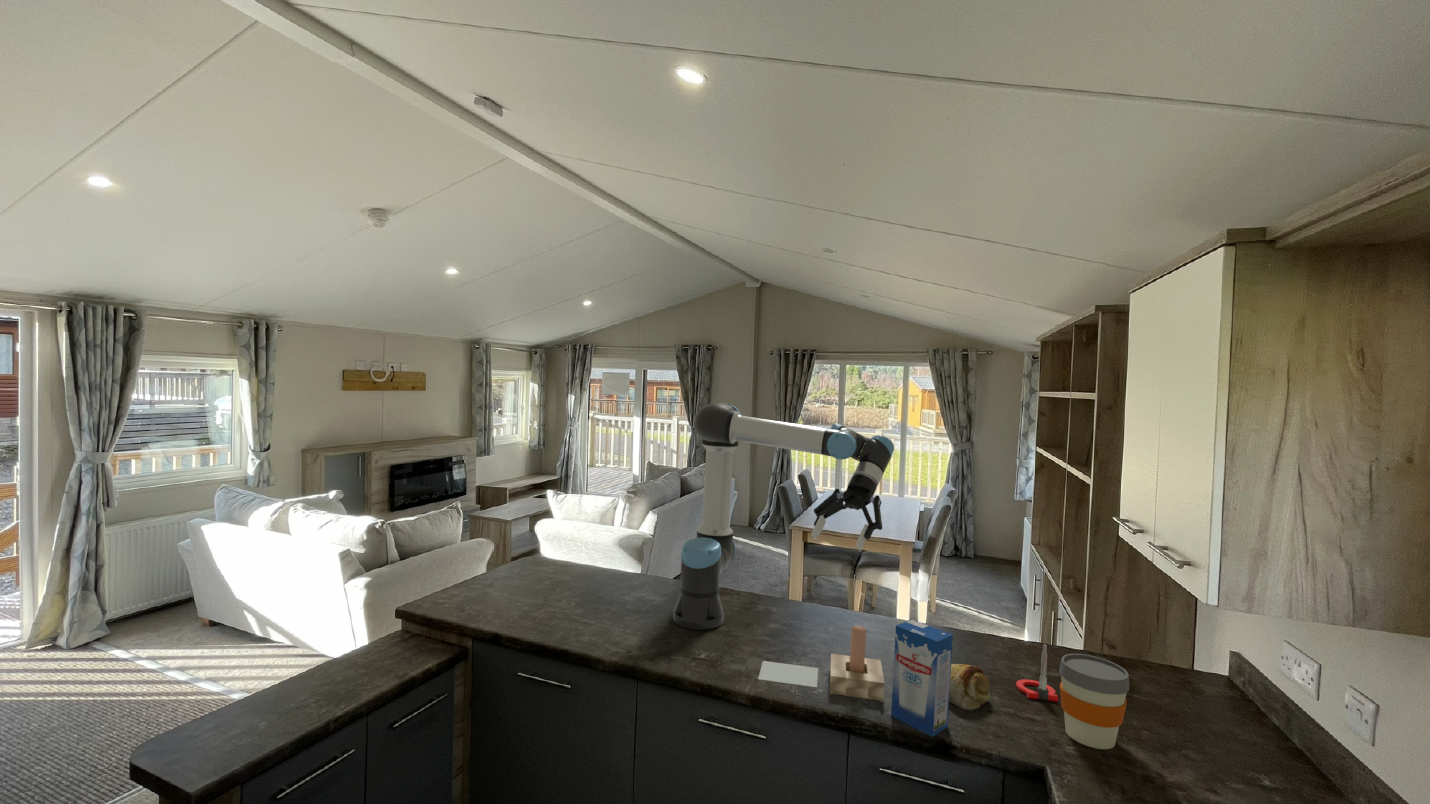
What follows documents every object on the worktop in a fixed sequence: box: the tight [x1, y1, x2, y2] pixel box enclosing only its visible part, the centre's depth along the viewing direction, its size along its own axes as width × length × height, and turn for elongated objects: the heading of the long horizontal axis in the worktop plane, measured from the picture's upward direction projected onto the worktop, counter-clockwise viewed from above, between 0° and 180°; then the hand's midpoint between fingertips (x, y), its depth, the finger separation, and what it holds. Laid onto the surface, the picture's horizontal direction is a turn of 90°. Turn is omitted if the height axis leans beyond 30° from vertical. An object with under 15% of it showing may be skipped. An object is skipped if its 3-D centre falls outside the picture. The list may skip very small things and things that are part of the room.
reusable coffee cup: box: [1058, 653, 1130, 750], centre depth 128 cm, size 13×13×15 cm
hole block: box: [829, 653, 885, 703], centre depth 145 cm, size 12×12×4 cm
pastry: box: [949, 663, 991, 711], centre depth 143 cm, size 14×12×8 cm
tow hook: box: [1015, 643, 1059, 702], centre depth 147 cm, size 8×13×9 cm
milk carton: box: [890, 619, 954, 738], centre depth 130 cm, size 10×6×20 cm, turn 40°
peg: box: [849, 625, 867, 673], centre depth 145 cm, size 3×3×14 cm
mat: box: [757, 660, 819, 688], centre depth 149 cm, size 14×10×1 cm
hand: (835, 542), depth 163 cm, fingers open, 13 cm apart
